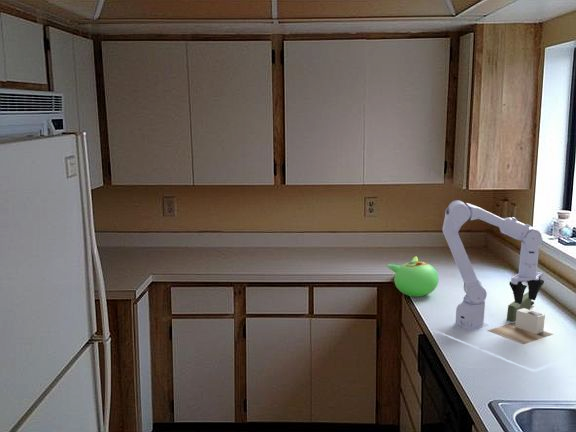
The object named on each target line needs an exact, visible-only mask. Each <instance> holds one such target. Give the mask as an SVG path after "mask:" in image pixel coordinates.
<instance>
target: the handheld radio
mask: <svg viewBox="0 0 576 432" xmlns="http://www.w3.org/2000/svg"><path fill="white" fill-rule="evenodd" d="M528 293H529V291H527V292H526V293H525V292H524V294H523V299H522V303H521V304H518V303H515V300H514V301H513V302H511V303H509V304H508V306H507V314H506V321H509V322H511V323H514V322H516V313H517V310H519V309H523V308H525V309H528V310H531V308H532V306H533V305H535V302H534V300H531V299H529V295H528Z"/></svg>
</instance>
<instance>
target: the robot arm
mask: <svg viewBox="0 0 576 432" xmlns="http://www.w3.org/2000/svg"><path fill="white" fill-rule="evenodd" d="M444 213H445V214H444V220H443V223H442V224H443V225H442V233H443V236H444V238H445V240H446V242H447V245H448V248H449V250H450V252H451V254H452V257H453V259H454V261H455V264H456V267H457V269H458V271H459V273H460V276H461V278H462V281H463V291H464V293H465V295H464V297H463V299H462V302H460V303H459V304H458V305H457V306H456V310H455V311H456V312H455V322H453V325H456V326H459V327H461V328H464V329H466V330H469V331H474V330H478V329H481V328H484V327H488V326H489V324H488V323H485V309H486V308H485V307H486V298H487V295H488V294H487V290H486V288H484V287H483V285H482V283H481V281H480V280H479V279H478V277H477V274H476V272H475V270H474V268H473V265H472V263H471V260H470V259H469V255H468V254H467V251H466V249H465V246H464V243H463V242H462V239H461V237H460V235H459V231H460V229H461V227H462V226H464V224H465V223H466V222H468V220H470V221H474V220H481V221H482V222H485V223H487V224H489V225H493V226H495V227H498V228H499V230H500V233H501V234H503V235H506V236H508V237H511V238H513V239H515V240H517V241H521V244H520V245H521V246H520V247H521V248H520V253H519V263H518V264H519V266H518V273H517V274H515V275H514V276H513V277H511V279H510V280H509V283H508V284H509V286H510V288H511V290H512V294H513V300H514V301H515V303H518V304H521V303H522V299H523V295H524V294H525V291H526V289H527V287H528V292H529V293H528V295H529V299H531V301H536V299H537V296H538V294H539V291H540V289H541V287H542V286H543V285H544V284H545V281H544V279H543V277H544V272H540V271H538V264H539V256H540V255H539V253H540V251H539V250H540V248H539V247H540V245H541V244H542V242H543V237H542V233H541V232H540V231H539V230H537V229H536V228H535V227H533V226H532V225H530V224H529V223H526V224H525V223H523V222H521V221H518V219H517V218H516V217H513V216H512V217H505V218H503V217H500V216H498V215H496V214H495V213H492V212H490V211H487V210H486V209H483V208H482V207H479V206H477V205H474V204H472V203H468V202H464V201H462V200H458V199H456V200H453V201H452V202H450V203H449V204H448V207H446V209H445V212H444ZM525 282H527V285H526V284H523V283H525Z"/></svg>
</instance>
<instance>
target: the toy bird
mask: <svg viewBox="0 0 576 432" xmlns="http://www.w3.org/2000/svg"><path fill="white" fill-rule="evenodd" d="M386 267H387V268H388V269H389V270H391V271H392V272H394V273H395V274H394V279H393V281H394V284H395V287H396V289H397V290H398V291H399V292H400V293H402V294H403V295H406V296H407V297H408V296H409V297H415V298H417V297H419V298H420V297H424V296H427V295H429V294H432V292H434V291H435V290H436V288H437V287H438V285H439V274H438V271H437V270H436V269H435V267H434V266H432V265H431V264H429V263H427V262H425V261H419V258H418V256H417V255H416V256H414V257H412V260H411V261H409V262H406V263H404V264H402V265H399V264H398V265H397V264H391V263H389V264H387V265H386Z"/></svg>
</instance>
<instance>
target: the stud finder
mask: <svg viewBox="0 0 576 432" xmlns="http://www.w3.org/2000/svg"><path fill="white" fill-rule="evenodd" d="M545 318H546V315H545V314H543V313H540V312H538V311H534V310H531V309H530V310H528V309H525V308H523V309H519V310H517V313H516V321H515V322H516V326H515V327H517V328H520V329H523V330H526V331H528V332H531V333H534V334H538V333H541V332H543V331H545V329H544V328H545Z"/></svg>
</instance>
